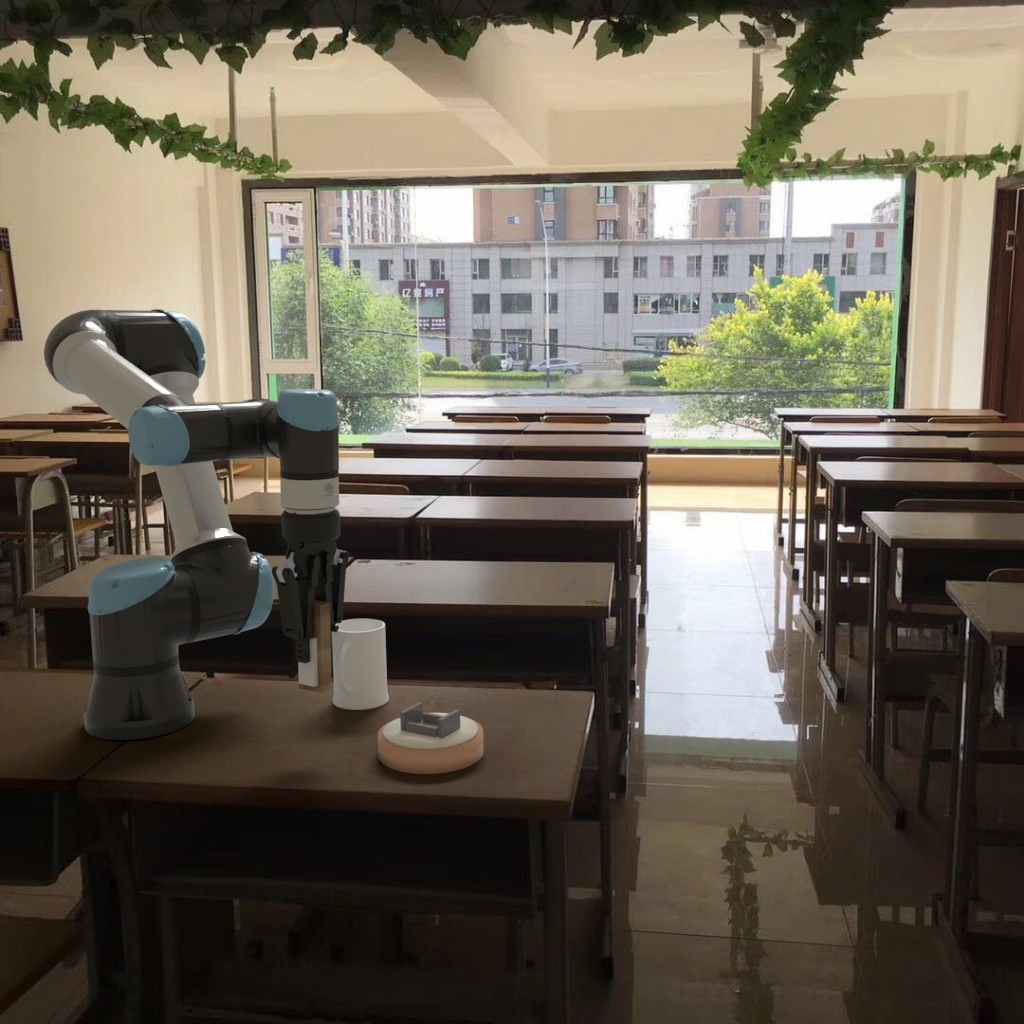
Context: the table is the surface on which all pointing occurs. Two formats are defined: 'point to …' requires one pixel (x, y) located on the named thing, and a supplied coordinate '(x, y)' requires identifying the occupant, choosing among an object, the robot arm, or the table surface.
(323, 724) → the table surface
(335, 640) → the mug
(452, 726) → the peach disc
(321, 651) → the tall wooden post
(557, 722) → the table surface
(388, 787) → the table surface
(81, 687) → the table surface
